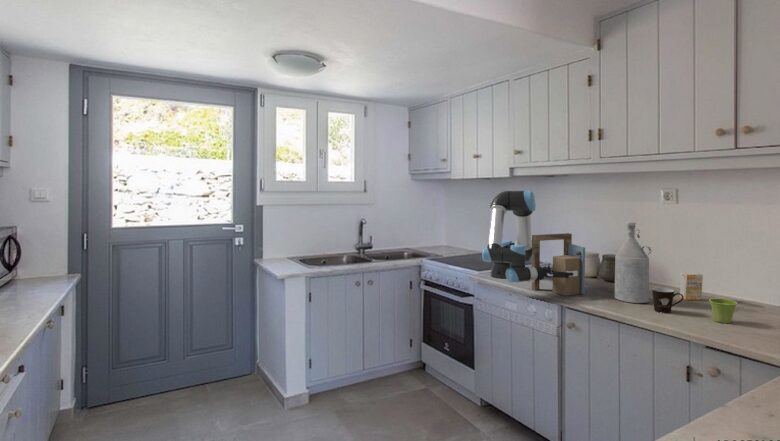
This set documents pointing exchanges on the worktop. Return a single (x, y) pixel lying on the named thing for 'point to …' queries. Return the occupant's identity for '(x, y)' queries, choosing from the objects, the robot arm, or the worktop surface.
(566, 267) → the wooden block
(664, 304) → the coffee mug
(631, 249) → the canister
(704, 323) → the worktop surface
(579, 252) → the door
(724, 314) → the plant pot
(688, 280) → the supplement box
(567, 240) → the door frame
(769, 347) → the worktop surface
